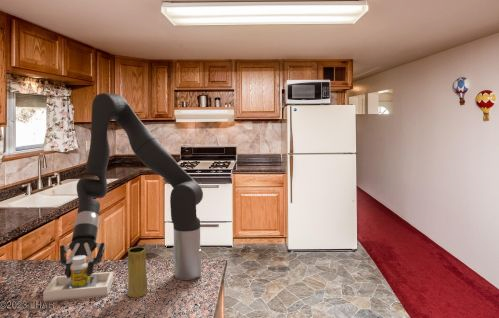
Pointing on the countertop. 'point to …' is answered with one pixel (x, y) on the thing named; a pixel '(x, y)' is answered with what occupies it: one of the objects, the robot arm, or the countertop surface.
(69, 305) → the countertop surface
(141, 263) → the vase
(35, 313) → the countertop surface
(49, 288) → the walled box
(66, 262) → the robot arm
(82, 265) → the supplement bottle
